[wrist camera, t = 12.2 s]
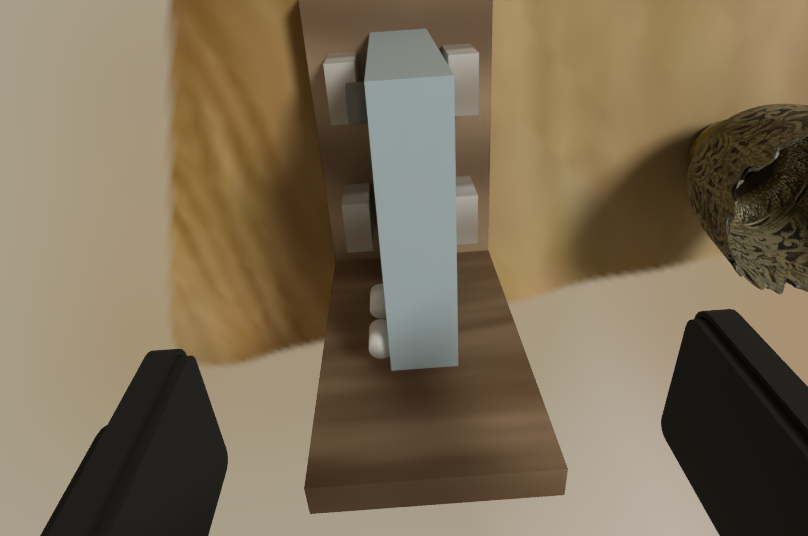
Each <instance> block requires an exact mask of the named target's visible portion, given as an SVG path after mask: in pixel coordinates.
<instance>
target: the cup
mask: <svg viewBox="0 0 808 536" xmlns="http://www.w3.org/2000/svg"><path fill="white" fill-rule="evenodd" d="M688 166H689V169H688V173H687V180H686V188H687V196H688V200H689V204H690V206H691V209H692V211H693V213H694V215H695V217H696V219H697V220H698V222H699V223H700V225H701V226H702V228H703V229H704V231H705V232H706V233H707V235H708V236H709V237H710V238H711V240H712V241H713V242H714V243H715V245H716V246H717V247H718V248H719V250H720V251H721V252H722V253H723V255H724V256H725V257H726V258H727V259H728V261H729V262H730V263H731V264H732V266H733V267H734V269H735V271H736V272H737V273H738V274H739V276H741V277H742V276H744V277H745V278H746V279H747V280H748V281H749V282H750V283H751V284H753V285H754V286H756V287H757V288H759V289H761V290H762V289H764V288H767V289H769V288H770V289H771V290H773V291H775V292H776V293H778V294H781V293H782V292H783V290H784V287H785V284H786V282H787V283H789V284H791V285H792V286H794V287H795V288H798V289H802V290H805V291H807V292H808V106H806V105H795V104H772V105H764V106H759V107H756V108H752V109H748V110H745V111H743V112H740V113H738V114H736V115H734V116H732V117H730V118H729V119H726V120H722V121H719V122H716V123H714V124H712V125H711V126H709V127H707V128H706V129H705V130H704V131H702V132H701V133H700V134H699V135H698V137H697V138H696V139H695V141H694V142H693V144H692V146H691V148H690V151H689V155H688Z"/></svg>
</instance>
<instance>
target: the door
mask: <svg viewBox="0 0 808 536" xmlns="http://www.w3.org/2000/svg"><path fill="white" fill-rule="evenodd" d="M345 94H346V107H347V115H348V121H349V125H362V124H368V127H369V138H370V149H371V159H372V170H373V181H374V191H375V202H376V212H377V223H378V234H379V244H380V255H381V266H382V276H383V284H377V285H375V286H373V287H372V288H371V291H370V313H371V314H372V315H373V316H374V317H376V318H380V319H378V320H375V321H373V322H372V323H371V325H370V327H369V352H370V354H371V355H372V356H373V357H375V358H379V359H384V358H387V357H389V356H390V361H391V371H395V370H409V369H422V368H436V367H450V366H458V304H457V233H456V162H455V91H454V74H453V72H452V71H451V69H450V67H449V66H448V64H447V62H446V61H445V59H444V57H443V56H442V54H441V52H440V51H439V49H438V47H437V46H436V44H435V42H434V41H433V39H432V37H431V36H430V34H429V32H428V31H427V29H412V30H398V31H384V32H370V34H369V43H368V52H367V61H366V70H365V79H364V82H350V83H345ZM382 318H386V319H387V320H385V319H382Z"/></svg>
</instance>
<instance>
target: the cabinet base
mask: <svg viewBox="0 0 808 536" xmlns="http://www.w3.org/2000/svg"><path fill="white" fill-rule="evenodd" d="M298 1H299V8H300V15H301V22H302V29H303V36H304V43H305V50H306V57H307V64H308V71H309V78H310V85H311V92H312V99H313V106H314V113H315V120H316V127H317V134H318V141H319V148H320V155H321V162H322V169H323V176H324V183H325V190H326V197H327V204H328V211H329V218H330V225H331V232H332V239H333V246H334V253H335V260H336V263H335V270H334V277H333V284H332V292H331V299H330V306H329V313H328V321H327V328H326V335H325V342H324V350H323V357H322V364H321V371H320V378H319V387H318V393H317V400H316V408H315V415H314V422H313V429H312V437H311V444H310V451H309V458H308V465H307V473H306V480H305V487H304V489H305V494H306V498H307V503H308V507H309V511H310V514H315V513H328V512H342V511H355V510H367V509H381V508H394V507H409V506H421V505H435V504H449V503H461V502H475V501H489V500H502V499H515V498H529V497H542V496H555V495H564V493H565V485H566V478H567V470H568V468H567V466H566V463H565V460H564V457H563V455H562V452H561V449H560V446H559V444H558V441H557V438H556V435H555V433H554V430H553V427H552V425H551V422H550V419H549V416H548V413H547V411H546V408H545V405H544V402H543V400H542V397H541V394H540V392H539V389H538V386H537V383H536V380H535V378H534V375H533V372H532V370H531V367H530V364H529V361H528V358H527V356H526V353H525V350H524V347H523V345H522V342H521V339H520V336H519V334H518V331H517V328H516V325H515V323H514V320H513V317H512V314H511V312H510V309H509V306H508V303H507V301H506V298H505V295H504V292H503V290H502V287H501V284H500V281H499V279H498V276H497V273H496V270H495V268H494V265H493V262H492V259H491V257H490V254H489V251H488V230H489V174H490V118H491V63H492V7H493V0H298ZM412 29H427V31H428V32H429V34H430V36H431V37H432V39H433V41H434V42H435V44H436V46H437V47H438V49H439V51H440V52H441V54H442V56H443V57H444V59H445V61H446V62H447V64H448V66H449V67H450V69H451V71H452V72H453V74H454V91H455V162H456V233H457V304H458V366H450V367H436V368H422V369H409V370H395V371H391V361H390V356H389V357H387V358H384V359H379V358H375V357H373V356H372V355H371V354H370V352H369V327H370V325H371V323H372V322H373V321H375V320H378V319H380V318H376V317H374V316H373V315H372V314H371V313H370V291H371V288H372V287H373V286H375V285H377V284H383V276H382V266H381V255H380V244H379V234H378V223H377V212H376V202H375V191H374V181H373V170H372V159H371V149H370V138H369V127H368V124H362V125H349V121H348V115H347V107H346V94H345V83H350V82H364V79H365V70H366V61H367V52H368V43H369V34H370V32H384V31H398V30H412ZM382 319H385V320H387V319H386V318H382Z"/></svg>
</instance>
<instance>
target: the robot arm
mask: <svg viewBox="0 0 808 536" xmlns="http://www.w3.org/2000/svg"><path fill="white" fill-rule="evenodd" d="M661 427H662V431H663V435H664V437H665V439H666V441H667V443H668V445H669V446H670V448H671V450H672V452H673V454H674V455H675V457H676V459H677V461H678V462H679V464H680V466H681V468H682V470H683V471H684V473H685V475H686V477H687V478H688V480H689V482H690V484H691V486H692V487H693V489H694V491H695V493H696V494H697V496H698V498H699V500H700V502H701V503H702V505H703V507H704V509H705V510H706V512H707V514H708V516H709V517H710V519H711V521H712V523H713V525H714V526H715V528H716V530H717V532H718V533H719V535H720V536H808V387H807V385H806V384H805V383H804V382H803V381H802V380H801V379H800V378H799V377H798V376H797V375H796V374H795V373H794V372H793V371H792V369H790V367H789V366H788V365H787V364H786V363H785V362H784V361H783V360H782V359H781V358H780V357H779V356H778V355H777V354H776V352H775V351H774V350H773V349H772V348H771V347H770V346H769V345H768V344H767V343H766V342H765V341H764V340H763V339H762V338H761V337H760V335H759V334H757V332H756V331H755V330H754V329H753V328H752V327H751V326H750V325H749V324H748V323H747V322H746V321H745V320H744V319H743V317H742V316H741V315H740V314H739V313H737V312H736V311H735V310H731V309H726V310H711V311H701V312H698V313H697V315H696V316H695V318H694V319H693V320H689V321H688V322H687V325H686V327H685V331H684V335H683V339H682V343H681V346H680V350H679V354H678V358H677V362H676V365H675V369H674V373H673V377H672V381H671V384H670V388H669V392H668V396H667V399H666V404H665V407H664V411H663V415H662V419H661ZM227 464H228V455H227V450H226V446H225V444H224V441H223V438H222V435H221V432H220V429H219V426H218V423H217V420H216V417H215V414H214V411H213V408H212V405H211V402H210V400H209V397H208V394H207V391H206V388H205V385H204V382H203V379H202V376H201V374H200V370H199V367H198V364H197V361H196V359H195V358H194V357H193V356H187V355H186V353H185V352H184V351H183V350H182V349H171V350H157V351H150V352H149V353H147V355H146V356H145V358H144V360H143V361H142V363H141V365H140V367H139V369H138V371H137V373H136V374H135V376H134V378H133V380H132V381H131V383H130V385H129V387H128V389H127V391H126V392H125V394H124V396H123V398H122V400H121V401H120V403H119V405H118V407H117V409H116V411H115V412H114V414H113V416H112V418H111V420H110V422H109V423H108V425H107V426H105V427H104V428H102V429H101V430H100V432H99V433H98V434H97V436H96V437H95V439H94V441H93V442H92V445H91V446H90V448H89V450H88V451H87V453H86V455H85V457H84V459H83V460H82V462H81V464H80V466H79V468H78V469H77V471H76V473H75V475H74V476H73V478H72V480H71V482H70V484H69V485H68V487H67V489H66V491H65V492H64V494H63V496H62V498H61V500H60V501H59V503H58V505H57V507H56V509H55V510H54V512H53V514H52V516H51V518H50V519H49V521H48V523H47V525H46V526H45V528H44V530H43V532H42V534H41V535H40V536H208V534H209V531H210V527H211V524H212V520H213V517H214V513H215V509H216V506H217V502H218V499H219V495H220V492H221V488H222V484H223V481H224V478H225V474H226V470H227Z"/></svg>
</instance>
